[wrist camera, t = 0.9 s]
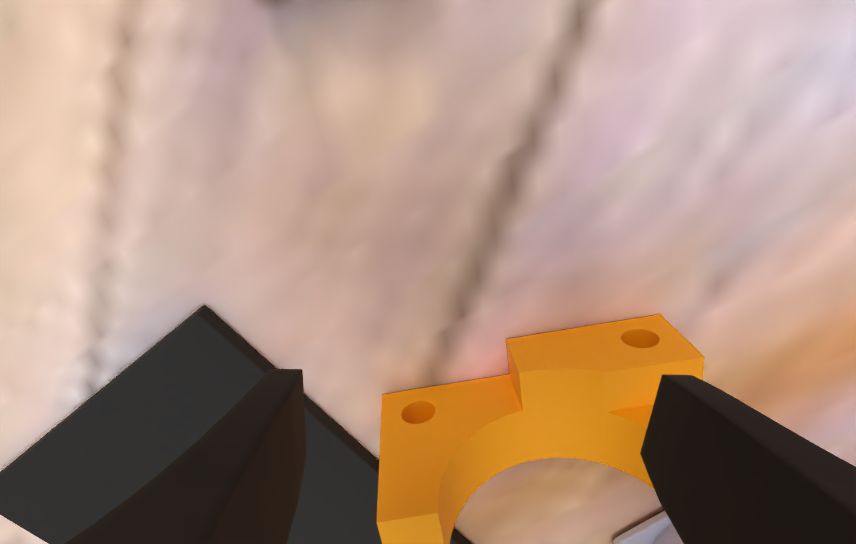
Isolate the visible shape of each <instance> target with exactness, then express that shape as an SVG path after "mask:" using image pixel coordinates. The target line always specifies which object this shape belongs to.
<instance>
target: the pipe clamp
mask: <svg viewBox="0 0 856 544" xmlns="http://www.w3.org/2000/svg"><path fill="white" fill-rule="evenodd" d="M506 343H507V352H508V362H509V371H510V374H507V375H500V376H494V377H488V378H482V379H475V380H469V381H463V382H457V383H451V384H444V385H438V386H432V387H426V388H420V389H413V390H407V391H401V392H395V393H389V394H382V414H381V436H380V457H379V479H378V501H377V526H378V530H379V534H380V537H381V541H382V544H450V540H451V534H452V531H453V528H454V525H455V522H456V520H457V517H458V515H459V513H460V511H461V510H462V508H463V506H464V505H465V503H466V502H467V500H468V499H469V498H470V496H471V495H472V494H473V493H474V492H475V491H476V490H477V489H478V488H479V487H480V486H481V485H482V484H484V483H485V482H486V481H487V480H489V479H490V478H492V477H493V476H494V475H496V474H498V473H500V472H501V471H503V470H505V469H508V468H510V467H512V466H515V465H518V464H521V463H524V462H528V461H532V460H537V459H543V458H578V459H584V460H590V461H594V462H598V463H602V464H605V465H608V466H611V467H614V468H617V469H619V470H621V471H624V472H626V473H628V474H630V475H632V476H634V477H636V478H638V479H639V480H641V481H643V482H644V483H646V484H647V485H649V486H650V487H652V488H653V489H654V487H653V485H652V482H651V480H650V478H649V475H648V472H647V470H646V467H645V465H644V462H643V460H642V457H641V455H640V452H641V448H642V445H643V441H644V437H645V434H646V430H647V427H648V423H649V420H650V416H651V412H652V409H653V405H654V402H655V398H656V395H657V391H658V387H659V384H660V380H661V377H662V374H664V375H692V376H695V377H697V378H699V379H701V380H703V369H704V356H703V355H702V354H701V353H700V352H699V351H698V350H697V349H696V348H695V347H694V346H693V345H692V344H691V343H690V342H689V341H688V340H687V339H685V338H684V337H683V336H682V335H681V334H680V333H679V332H678V331H677V330H676V329H675V328H674V327H673V326H672V325H671V324H670V323H669V322H668V321H667V320H666V319H665V318H664V317H663V316H662V315H661V314H658V315H652V316H646V317H640V318H634V319H627V320H621V321H615V322H609V323H603V324H597V325H590V326H584V327H578V328H572V329H566V330H559V331H553V332H547V333H541V334H535V335H528V336H522V337H516V338H510V339H506ZM654 490H655V489H654Z"/></svg>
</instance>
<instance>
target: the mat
mask: <svg viewBox="0 0 856 544" xmlns="http://www.w3.org/2000/svg"><path fill="white" fill-rule="evenodd" d="M270 369H275V368H274V367H273V366H272V365H271V364H270V363H269V362H268V361H267V360H265V359H264V358H263V357H262V356H261V355H260V354H259V353H258V352H256V351H255V350H254V349H253V348H252V347H251V346H250V345H249V344H248V343H246V342H245V341H244V340H243V339H242V338H241V337H240V336H239V335H238V334H236V333H235V332H234V331H233V330H232V329H231V328H230V327H229V326H227V325H226V324H225V323H224V322H223V321H222V320H221V319H220V318H219V317H217V316H216V315H215V314H214V313H213V312H212V311H211V310H210V309H208V308H207V307H206V306H202V307H201V308H200V309H199V310H197V311H196V312H195V313H194V314H192V315H191V316H190V317H189V318H188V319H186V320H185V321H184V322H183V323H181V324H180V325H179V326H178V327H177V328H175V329H174V330H173V331H172V332H171V333H169V334H168V335H167V336H166V337H164V338H163V339H162V340H161V341H160V342H158V343H157V344H156V345H155V346H153V347H152V348H151V349H150V350H149V351H147V352H146V353H145V354H144V355H142V356H141V357H140V358H139V359H138V360H136V361H135V362H134V363H133V364H132V365H130V366H129V367H128V368H127V369H125V370H124V371H123V372H122V373H121V374H119V375H118V376H117V377H116V378H114V379H113V380H112V381H111V382H110V383H108V384H107V385H106V386H105V387H104V388H102V389H101V390H100V391H99V392H97V393H96V394H95V395H94V396H93V397H91V398H90V399H89V400H88V401H86V402H85V403H84V404H83V405H82V406H80V407H79V408H78V409H77V410H76V411H74V412H73V413H72V414H71V415H69V416H68V417H67V418H66V419H65V420H63V421H62V422H61V423H60V424H58V425H57V426H56V427H55V428H54V429H52V430H51V431H50V432H49V433H47V434H46V435H45V436H44V437H43V438H41V439H40V440H39V441H38V442H37V443H35V444H34V445H33V446H32V447H30V448H29V449H28V450H27V451H26V452H24V453H23V454H22V455H21V456H19V457H18V458H17V459H16V460H15V461H13V462H12V463H11V464H10V465H9V466H7V467H6V468H5V469H4V470H2V471H1V472H0V515H2V516H4V517H5V518H7V519H9V520H10V521H12V522H14V523H15V524H17V525H19V526H20V527H22V528H24V529H25V530H27V531H29V532H30V533H32V534H34V535H35V536H37V537H39V538H40V539H42V540H44V541H45V542H47V543H49V544H64V543H66V542H67V541H69V540H70V539H72V538H73V537H75V536H76V535H78V534H79V533H81V532H82V531H84V530H85V529H87V528H88V527H89V526H91V525H92V524H94V523H95V522H97V521H98V520H99V519H101V518H102V517H103V516H105V515H106V514H107V513H109V512H110V511H111V510H113V509H114V508H116V507H117V506H118V505H120V504H121V503H122V502H124V501H125V500H126V499H128V498H129V497H130V496H132V495H133V494H134V493H136V492H137V491H138V490H139V489H141V488H142V487H143V486H144V485H146V484H147V483H148V482H149V481H151V480H152V479H153V478H154V477H155V476H156V475H158V474H159V473H160V472H161V471H162V470H163V469H165V468H166V467H167V466H168V465H169V464H170V463H172V462H173V461H174V460H175V459H176V458H177V457H179V456H180V455H181V454H182V453H183V452H184V451H185V450H187V449H188V448H189V447H190V446H191V445H192V444H193V443H195V442H196V441H197V440H198V439H199V438H200V437H201V436H202V435H203V434H204V433H205V432H206V431H207V430H208V429H209V428H210V427H212V426H213V425H214V424H215V423H216V422H217V421H218V420H219V419H220V418H221V417H222V416H223V415H224V414H225V413H226V412H227V411H228V410H229V409H230V408H231V407H232V406H233V405H234V404H235V403H236V402H237V401H238V400H239V399H240V398H241V397H242V396H243V395H244V394H245V393H246V392H247V391H248V390H249V389H250V388H251V387H252V386H253V385H254V384H255V383H256V382H257V381H258V380H259V379H260V378H261V377H262V376H263V375H264V374H265V373H266V372H268V371H269V370H270ZM304 412H305V431H306V450H307V454H306V460H305V466H304V472H303V478H302V484H301V490H300V495H299V501H298V505H297V509H296V512H295V516H294V520H293V523H292V527H291V530H290V534H289V537H288V541H287V544H382V541H381V537H380V534H379V530H378V526H377V501H378V479H379V461H378V460H377V459H376V458H375V457H374V456H373V455H371V454H370V453H369V452H368V451H367V450H366V449H365V448H364V447H362V446H361V445H360V444H359V443H358V442H357V441H356V440H355V439H354V438H352V437H351V436H350V435H349V434H348V433H347V432H346V431H345V430H344V429H342V428H341V427H340V426H339V425H338V424H337V423H336V422H335V421H333V420H332V419H331V418H330V417H329V416H328V415H327V414H326V413H325V412H323V411H322V410H321V409H320V408H319V407H318V406H317V405H316V404H315V403H313V402H312V401H311V400H310V399H309V398H308V397H307V396H306V395H304ZM450 544H471V543H470V542H468V541H467V540H466V539H465V538H464V537H463V536H462V535H461V534H460V533H458V532H457V531H456V530H455V529H454V528H453V531H452V534H451V540H450Z"/></svg>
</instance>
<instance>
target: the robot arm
mask: <svg viewBox="0 0 856 544" xmlns="http://www.w3.org/2000/svg"><path fill="white" fill-rule="evenodd" d="M306 454H307V450H306V431H305V412H304V393H303V374H302V369H270V370H269V371H268V372H266V373H265V374H264V375H263V376H262V377H261V378H260V379H259V380H258V381H257V382H256V383H255V384H254V385H253V386H252V387H251V388H250V389H249V390H248V391H247V392H246V393H245V394H244V395H243V396H242V397H241V398H240V399H239V400H238V401H237V402H236V403H235V404H234V405H233V406H232V407H231V408H230V409H229V410H228V411H227V412H226V413H225V414H224V415H223V416H222V417H221V418H220V419H219V420H218V421H217V422H216V423H215V424H214V425H213V426H212V427H210V428H209V429H208V430H207V431H206V432H205V433H204V434H203V435H202V436H201V437H200V438H199V439H198V440H197V441H196V442H195V443H193V444H192V445H191V446H190V447H189V448H188V449H187V450H185V451H184V452H183V453H182V454H181V455H180V456H179V457H177V458H176V459H175V460H174V461H173V462H172V463H170V464H169V465H168V466H167V467H166V468H165V469H163V470H162V471H161V472H160V473H159V474H158V475H156V476H155V477H154V478H153V479H152V480H151V481H149V482H148V483H147V484H146V485H144V486H143V487H142V488H141V489H139V490H138V491H137V492H136V493H134V494H133V495H132V496H130V497H129V498H128V499H126V500H125V501H124V502H122V503H121V504H120V505H118V506H117V507H116V508H114V509H113V510H111V511H110V512H109V513H107V514H106V515H105V516H103V517H102V518H101V519H99V520H98V521H97V522H95V523H94V524H92V525H91V526H89V527H88V528H87V529H85V530H84V531H82V532H81V533H79V534H78V535H76V536H75V537H73V538H72V539H70V540H69V541H67V542H66V543H64V544H287V541H288V537H289V534H290V530H291V527H292V523H293V520H294V516H295V512H296V509H297V505H298V501H299V495H300V490H301V484H302V478H303V472H304V466H305V460H306ZM640 455H641V457H642V460H643V462H644V465H645V467H646V470H647V472H648V475H649V478H650V480H651V482H652V485H653V487H654V489H655V492H656V494H657V496H658V498H659V501H660V503H661V504H662V506H663V508H664V511H663V512H661V513H659V514H657V515H655V516H654V517H652V518H650V519H648V520H646V521H645V522H643V523H641V524H639V525H637V526H636V527H634V528H632V529H630V530H628V531H627V532H625V533H623V534H621V535H619V536H618V537H616V538H615V539H614V541H613V544H856V467H855V466H853V465H851V464H850V463H848V462H846V461H844V460H842V459H840V458H838V457H837V456H835V455H833V454H831V453H829V452H828V451H826V450H824V449H822V448H820V447H819V446H817V445H815V444H813V443H812V442H810V441H808V440H806V439H805V438H803V437H801V436H799V435H798V434H796V433H794V432H792V431H791V430H789V429H787V428H785V427H784V426H782V425H780V424H779V423H777V422H775V421H773V420H772V419H770V418H768V417H767V416H765V415H763V414H761V413H760V412H758V411H756V410H755V409H753V408H751V407H750V406H748V405H746V404H744V403H743V402H741V401H739V400H737V399H736V398H734V397H732V396H731V395H729V394H727V393H725V392H723V391H722V390H720V389H718V388H716V387H714V386H713V385H711V384H709V383H707V382H705V381H703V380H701V379H699V378H697V377H695V376H692V375H664V374H662V377H661V380H660V384H659V387H658V391H657V395H656V398H655V402H654V405H653V409H652V412H651V416H650V420H649V423H648V427H647V430H646V434H645V437H644V441H643V445H642V448H641V452H640Z"/></svg>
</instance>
